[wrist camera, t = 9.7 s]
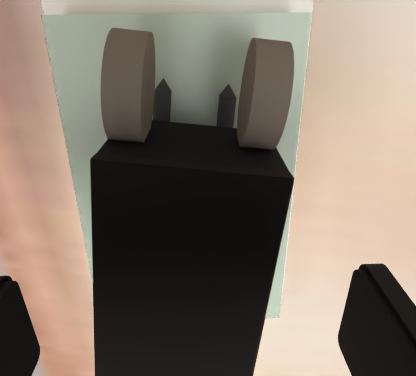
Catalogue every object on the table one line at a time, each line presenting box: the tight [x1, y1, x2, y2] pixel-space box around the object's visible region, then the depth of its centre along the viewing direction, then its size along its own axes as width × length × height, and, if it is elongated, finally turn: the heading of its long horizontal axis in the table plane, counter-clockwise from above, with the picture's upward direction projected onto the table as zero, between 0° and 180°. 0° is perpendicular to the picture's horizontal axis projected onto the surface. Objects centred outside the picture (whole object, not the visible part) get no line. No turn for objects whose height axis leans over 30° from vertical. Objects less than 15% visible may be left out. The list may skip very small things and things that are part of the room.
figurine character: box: [90, 28, 295, 376], centre depth 15 cm, size 7×8×15 cm
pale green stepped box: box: [41, 0, 314, 318], centre depth 21 cm, size 19×13×7 cm
